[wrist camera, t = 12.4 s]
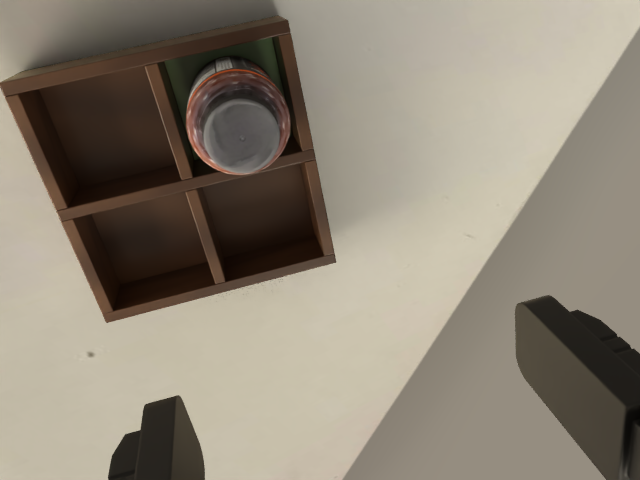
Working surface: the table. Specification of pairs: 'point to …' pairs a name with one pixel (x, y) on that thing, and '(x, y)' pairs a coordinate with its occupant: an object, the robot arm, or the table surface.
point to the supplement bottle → (236, 116)
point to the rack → (169, 172)
